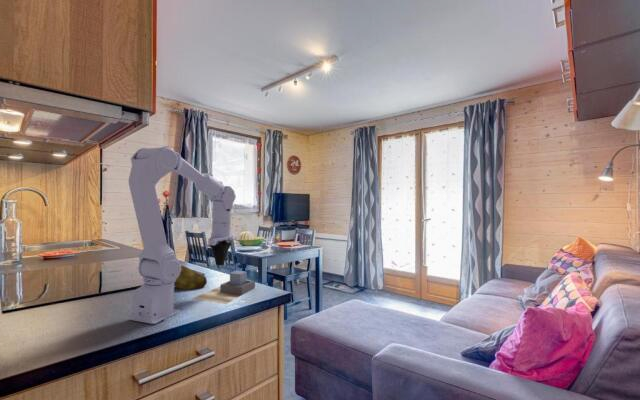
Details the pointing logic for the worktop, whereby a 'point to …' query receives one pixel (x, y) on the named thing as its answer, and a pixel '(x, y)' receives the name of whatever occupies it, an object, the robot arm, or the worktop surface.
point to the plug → (238, 278)
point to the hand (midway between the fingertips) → (219, 264)
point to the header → (237, 288)
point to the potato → (190, 279)
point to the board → (217, 296)
